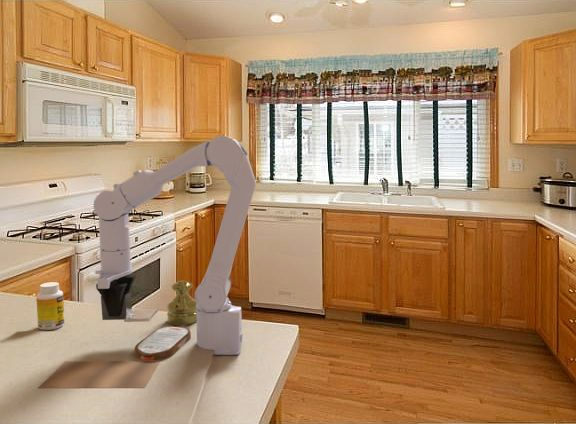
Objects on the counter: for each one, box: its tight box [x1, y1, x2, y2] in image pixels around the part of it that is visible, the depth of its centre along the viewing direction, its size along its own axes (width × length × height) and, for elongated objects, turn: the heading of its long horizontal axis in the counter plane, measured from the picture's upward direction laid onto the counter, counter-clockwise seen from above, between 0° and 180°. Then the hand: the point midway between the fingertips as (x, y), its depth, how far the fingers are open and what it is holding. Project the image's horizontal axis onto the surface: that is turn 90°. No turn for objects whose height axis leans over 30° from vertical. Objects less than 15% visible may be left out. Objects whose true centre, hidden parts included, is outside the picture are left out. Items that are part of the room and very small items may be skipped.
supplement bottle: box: [35, 281, 65, 331], centre depth 107 cm, size 6×6×10 cm
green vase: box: [166, 279, 197, 326], centre depth 111 cm, size 7×7×10 cm
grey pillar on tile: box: [100, 290, 159, 323], centre depth 95 cm, size 10×6×5 cm, turn 90°
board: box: [37, 360, 161, 389], centre depth 82 cm, size 18×10×1 cm, turn 91°
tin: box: [134, 325, 192, 361], centre depth 94 cm, size 15×3×8 cm
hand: (117, 312), depth 95 cm, fingers closed on grey pillar on tile, 3 cm apart
